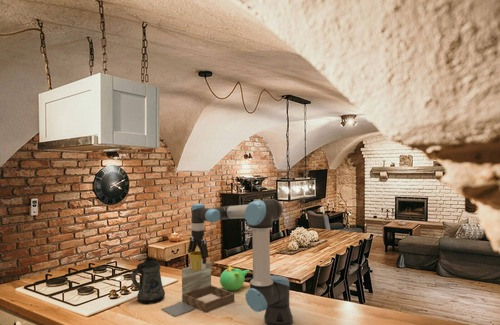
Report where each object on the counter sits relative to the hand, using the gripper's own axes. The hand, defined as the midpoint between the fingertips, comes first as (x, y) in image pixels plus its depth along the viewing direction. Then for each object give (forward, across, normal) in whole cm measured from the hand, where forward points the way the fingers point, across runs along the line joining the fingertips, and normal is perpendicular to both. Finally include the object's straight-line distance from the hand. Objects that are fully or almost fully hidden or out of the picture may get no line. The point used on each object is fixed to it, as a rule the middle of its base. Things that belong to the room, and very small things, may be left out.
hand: (197, 267), depth 204 cm
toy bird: (+22, +4, -32) cm, 39 cm away
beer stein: (+23, +27, +17) cm, 39 cm away
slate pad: (+22, +2, +12) cm, 25 cm away
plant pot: (+1, 0, 0) cm, 1 cm away
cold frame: (+22, -2, -7) cm, 23 cm away
